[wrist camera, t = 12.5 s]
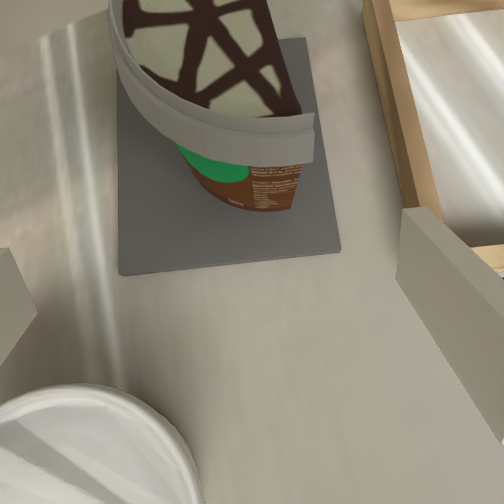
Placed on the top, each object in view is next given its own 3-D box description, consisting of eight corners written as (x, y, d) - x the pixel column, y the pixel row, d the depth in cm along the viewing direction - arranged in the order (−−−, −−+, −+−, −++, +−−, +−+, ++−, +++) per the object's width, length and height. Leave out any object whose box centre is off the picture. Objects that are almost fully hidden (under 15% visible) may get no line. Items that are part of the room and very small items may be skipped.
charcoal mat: (304, 44, 26) (305, 37, 25) (339, 252, 22) (341, 249, 21) (120, 66, 26) (116, 59, 25) (122, 276, 22) (118, 273, 22)
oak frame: (545, -10, 26) (566, -40, 24) (648, 255, 21) (685, 244, 19) (361, 12, 26) (368, -16, 24) (420, 280, 21) (435, 272, 19)
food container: (148, 76, 25) (71, -105, 15) (244, 53, 25) (227, -141, 16) (187, 261, 22) (121, 178, 12) (298, 233, 22) (320, 128, 12)
